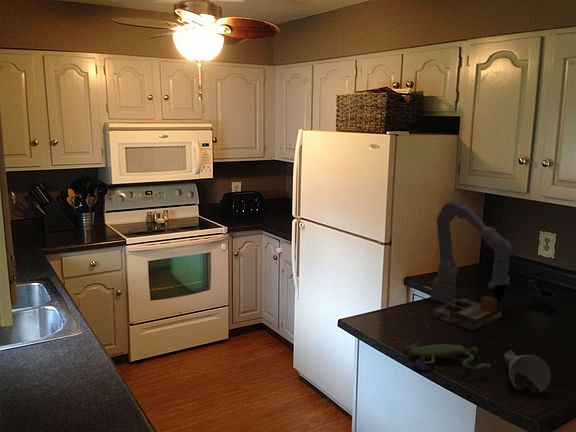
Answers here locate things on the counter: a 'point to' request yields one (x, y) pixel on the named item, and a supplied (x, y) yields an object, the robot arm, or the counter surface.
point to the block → (488, 303)
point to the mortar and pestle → (540, 297)
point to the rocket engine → (529, 369)
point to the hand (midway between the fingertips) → (497, 301)
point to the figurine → (441, 350)
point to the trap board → (466, 314)
